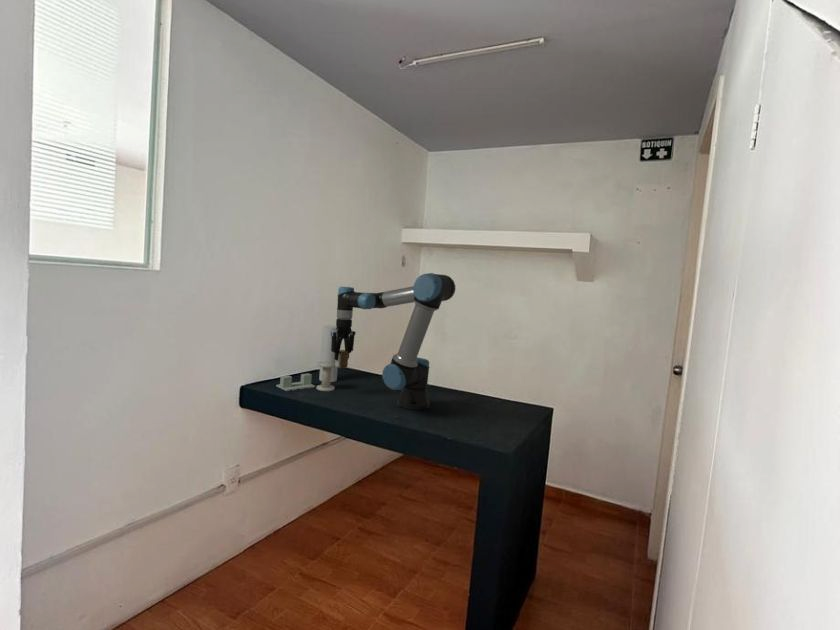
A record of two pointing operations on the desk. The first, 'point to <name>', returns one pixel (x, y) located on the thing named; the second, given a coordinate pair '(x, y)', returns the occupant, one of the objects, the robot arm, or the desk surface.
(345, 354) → the brown wooden block
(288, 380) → the terminal board
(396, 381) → the robot arm
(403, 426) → the desk surface
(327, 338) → the cylinder container
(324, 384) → the bobbin
